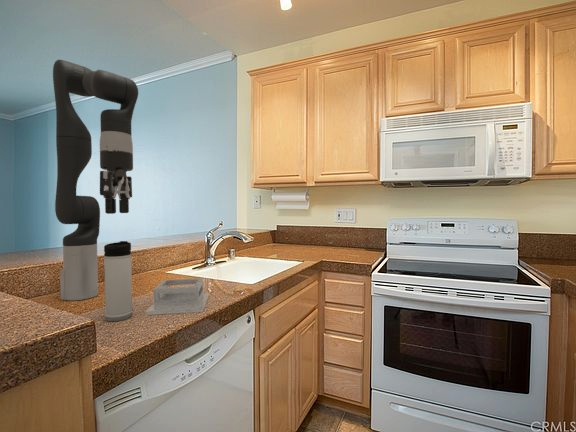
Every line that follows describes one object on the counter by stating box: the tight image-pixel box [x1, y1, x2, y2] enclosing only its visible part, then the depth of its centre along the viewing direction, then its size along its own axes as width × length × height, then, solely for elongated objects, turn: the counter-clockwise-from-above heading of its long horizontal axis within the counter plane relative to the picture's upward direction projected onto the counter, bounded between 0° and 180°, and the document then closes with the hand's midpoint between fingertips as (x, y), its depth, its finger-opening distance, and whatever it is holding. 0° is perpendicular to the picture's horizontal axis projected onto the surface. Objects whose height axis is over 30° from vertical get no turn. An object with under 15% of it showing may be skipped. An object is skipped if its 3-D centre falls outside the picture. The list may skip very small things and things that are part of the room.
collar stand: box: [145, 277, 210, 316], centre depth 88 cm, size 15×15×6 cm
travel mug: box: [103, 240, 133, 323], centre depth 78 cm, size 6×7×20 cm
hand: (117, 213), depth 78 cm, fingers open, 8 cm apart
